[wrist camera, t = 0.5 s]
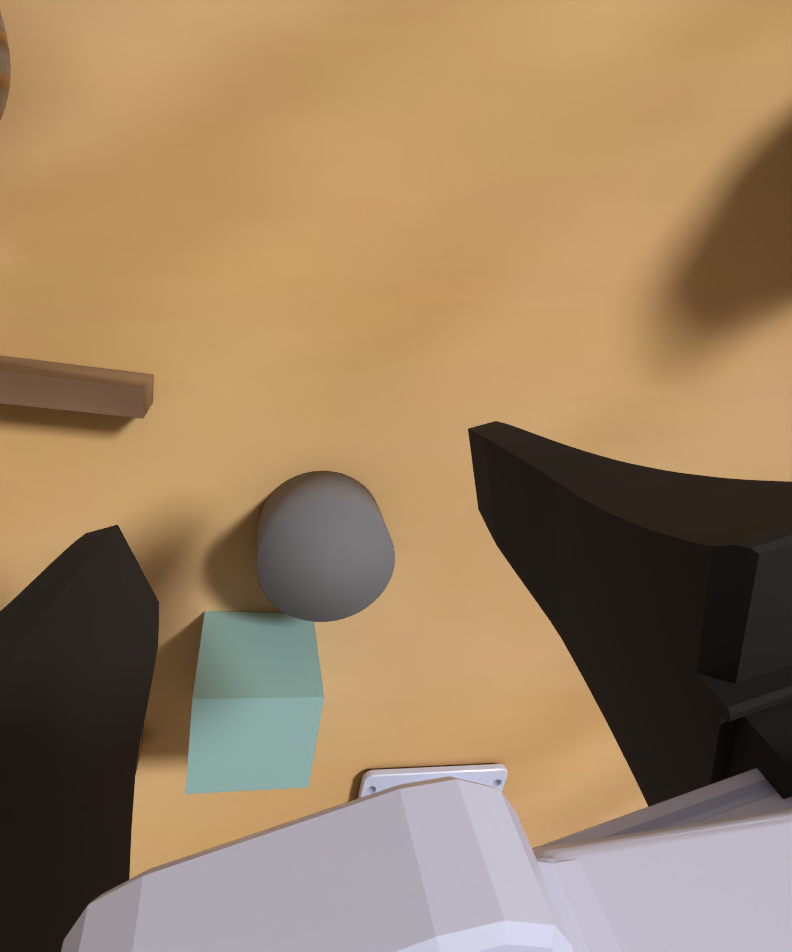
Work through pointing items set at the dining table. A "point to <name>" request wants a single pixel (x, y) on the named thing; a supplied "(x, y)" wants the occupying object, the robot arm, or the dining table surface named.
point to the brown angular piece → (75, 391)
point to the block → (254, 703)
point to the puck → (323, 547)
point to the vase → (4, 67)
